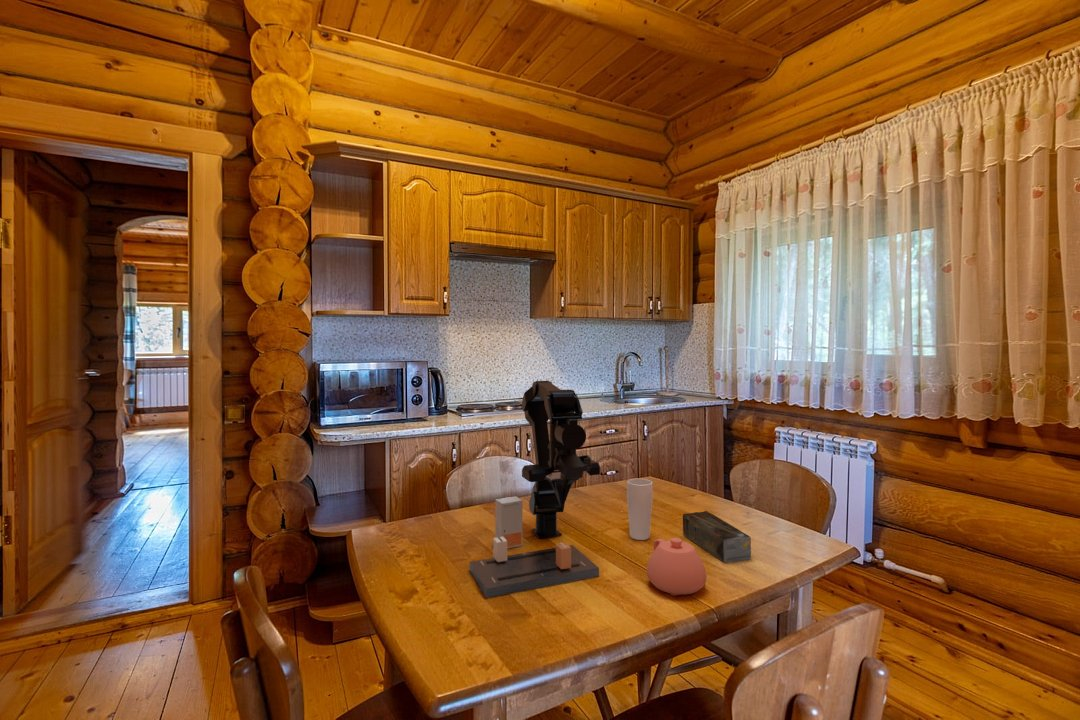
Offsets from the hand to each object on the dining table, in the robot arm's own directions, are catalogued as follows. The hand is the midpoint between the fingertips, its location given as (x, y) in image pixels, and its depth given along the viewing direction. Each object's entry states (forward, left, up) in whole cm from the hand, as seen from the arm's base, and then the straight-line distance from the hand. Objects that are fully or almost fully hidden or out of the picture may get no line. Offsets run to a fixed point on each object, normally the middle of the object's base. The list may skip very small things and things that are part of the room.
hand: (561, 505), depth 127 cm
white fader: (+1, -16, -10) cm, 19 cm away
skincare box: (-11, -10, -13) cm, 20 cm away
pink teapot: (+23, +16, -13) cm, 31 cm away
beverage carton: (+10, +38, -13) cm, 42 cm away
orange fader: (+11, -4, -10) cm, 15 cm away
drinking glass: (-3, +24, -13) cm, 27 cm away
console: (+6, -10, -12) cm, 17 cm away
